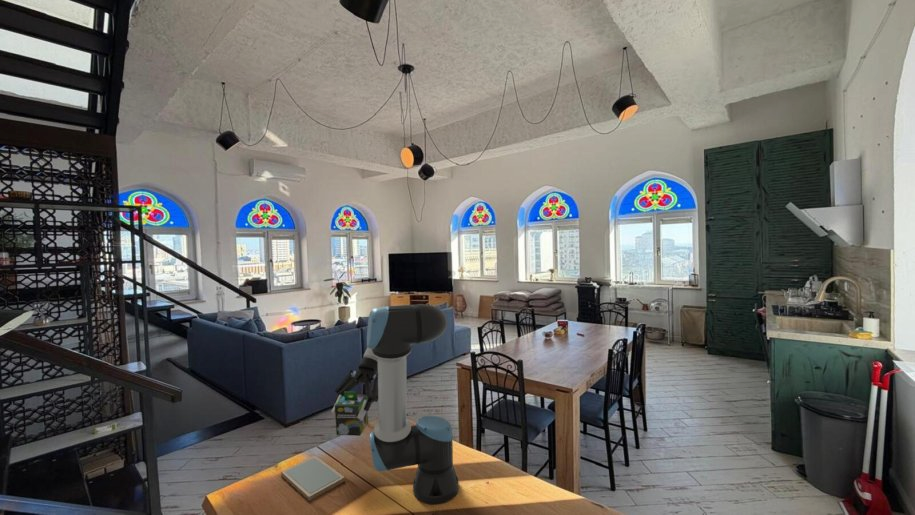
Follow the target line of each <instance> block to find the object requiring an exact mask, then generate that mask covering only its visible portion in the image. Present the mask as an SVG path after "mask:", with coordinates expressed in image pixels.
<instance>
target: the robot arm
mask: <svg viewBox="0 0 915 515" xmlns="http://www.w3.org/2000/svg"><path fill="white" fill-rule="evenodd" d="M447 325H448V319H447V316H446V314H445V313H444V311H443V310H441V309H440V308H439V307H437V306H434V305H431V304H427V303H425V304H424V303H417V304H416V303H415V304H405V305H402V304H401V305H391V306H390V305H385V306H379V307H374V308H372V309H371V311H370V312H369V315H368V321H367V331H366V332H367V334H366V346H367V347H366V349H365V352H364V354H363V355H362V356H363V357H362V358H361V360H360V362H359V363H358V364H359V365H358V369H357V371H356V370H353V369H350V370H349V372H348V373H347V375H346V376H345V378H344V379H343V380H342V381H341V383H340V384H339V385H338V386H337V388H335V390H334V392H335V393H337V396H336V399H334V400H335V401H334V405H333V408H332V409H331V411H330V412H331V413H333V415H335V404H336V403H337V402H338V401H339V399H340V398H342V397H343V396H344V392H345V391H348V392H349V391H351V390H352V389H354V388H355V387H356V386H358V385H365V391H366V392H365V393H366V395H367V398H366V399H367V400H364V403H363V405H362V407H361V410H360V412H359V414H358V417H357V418H358V419H360V420H361V421H363V418H364V416H365V414H366V411H369V410H370V408H371V405H372V404H373V403H377V402H378V403H377V404H378V405H377V406H378V422H377V423H375V426H374V428H373V430H372V431H371V432H370V433H369V445H370V450H371V457H372V463H373V467H374V469H375V470H376V471H377V472H384V471H391V470H396V469H401V468H402V469H403V468H406V467H411V466H417V469H416V473H415V477H414V479H413V481H412V491H413V496H414V497H415V498H416V499H417V500H418V501H420V502H422V503H425V504H428V505H441V504H444V503H448V502H449V501H451V500H452V499H454V498H455V497H456V495H457V494H458V493H459V486H460V485H459V478H458V475H457V473H456V471H455V466H454V463H453V462H454V460H453V458H454V457H453V456H454V450H453V447H454V445H453V440H454V435H453V428H452V425H451V422H449V420H447V419H445V418H443V417H441V416H436V415H425V416H422V417H419V418H418V419H417V421H416V423H415V425H412V424H411V422H410V421H409V420H408V419H407V357H408V356H409V355H410V354H411V352H412V350H413V347H412V346H413V345H418V344H426V343H430V342H432V341H434V340H437V339H438V338H440V337H441V336H443V334H444V333H445V332H446V330H447V327H448V326H447ZM372 381H373V382H372ZM372 383H373V384H372ZM372 387H373V388H372Z"/></svg>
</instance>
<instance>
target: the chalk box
mask: <svg viewBox="0 0 915 515" xmlns="http://www.w3.org/2000/svg"><path fill="white" fill-rule="evenodd" d="M366 398H367V393H366V394H359V393H358V394H357V391H351V390H350V391H349V392H348V391H345V392H344V396H343V397H342V398H340V399H339V401H338V402H337V403H336V404H335V403H334V405H335V414H334V416H335V431H336V433H335V434H336V436H356V437H361V435H362V433H363V432H364V431H365V429H366V427H368V425H369V412H368V411H369V410H368V411H366V414H365V416H364V418H363V421H361V420H360V419H358V418H357V417H358V414H359V412H360V410H361V407H362V405H363V403H364V400H367V399H366Z"/></svg>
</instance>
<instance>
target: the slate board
mask: <svg viewBox="0 0 915 515" xmlns="http://www.w3.org/2000/svg"><path fill="white" fill-rule="evenodd" d="M280 474H281V477H282V478H283V479H285V480H286V481H287V483H289V484H290V485H291V486H292V487H293V488H294V489H295V490H296V491H298V492H299V494H301V495H302V496H303V497H304V498H305V499H306V498H307V499H306V500H308V502H310V501H312V500H315V498H318V497H319V496H321V495H323V494H324V493H326V492H328V491H330V490H331V489H333V488H335V487H336V486H339V485H341V484H342V483H344V482H345V481H346V480H345V479H346V478H345V476H344V475H343V474H341V473H340V472H339V471H337V470H336V469H334V468H333V467H332V466H330V465H329V464H328V463H326V461H324V460H322V459H321V458H319V457H318V456H317V455H313V456H312V457H310V458H308V459H305V460H303V461H301V462H299V463H297V464H295V465H293V466H291V467H288V468H287V469H284V470H282V471H281V472H280Z"/></svg>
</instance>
